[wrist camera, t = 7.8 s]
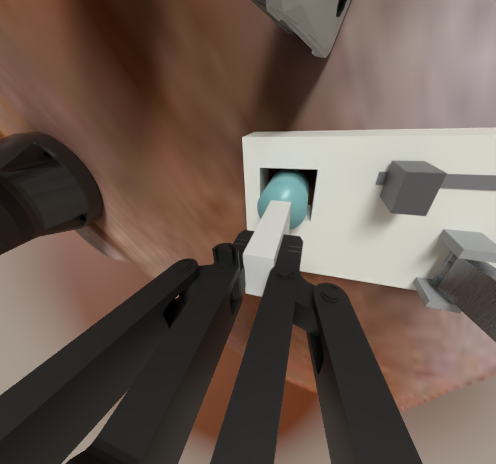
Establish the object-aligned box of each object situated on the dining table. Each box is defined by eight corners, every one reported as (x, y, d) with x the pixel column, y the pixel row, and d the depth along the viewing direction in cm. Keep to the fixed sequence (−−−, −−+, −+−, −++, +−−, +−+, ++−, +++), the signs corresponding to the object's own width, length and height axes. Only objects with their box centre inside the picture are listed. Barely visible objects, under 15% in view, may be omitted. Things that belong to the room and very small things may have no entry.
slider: (379, 196, 16) (390, 213, 13) (392, 160, 14) (406, 171, 12) (409, 198, 15) (425, 216, 13) (424, 161, 14) (447, 173, 11)
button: (269, 204, 22) (257, 227, 18) (269, 167, 19) (256, 184, 15) (306, 208, 21) (303, 233, 17) (311, 169, 18) (309, 187, 14)
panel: (257, 243, 27) (241, 278, 22) (254, 131, 20) (230, 142, 15) (474, 274, 21) (529, 334, 16) (590, 125, 14) (773, 140, 8)
